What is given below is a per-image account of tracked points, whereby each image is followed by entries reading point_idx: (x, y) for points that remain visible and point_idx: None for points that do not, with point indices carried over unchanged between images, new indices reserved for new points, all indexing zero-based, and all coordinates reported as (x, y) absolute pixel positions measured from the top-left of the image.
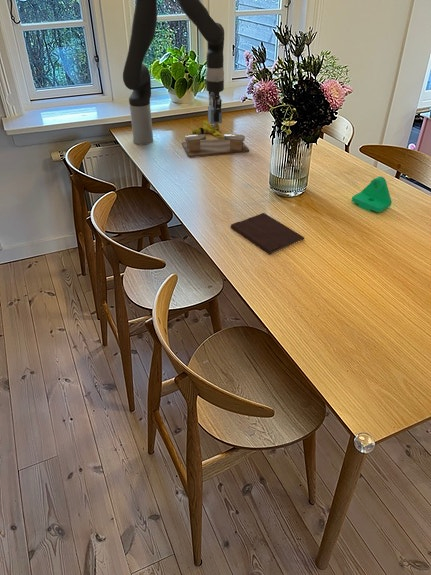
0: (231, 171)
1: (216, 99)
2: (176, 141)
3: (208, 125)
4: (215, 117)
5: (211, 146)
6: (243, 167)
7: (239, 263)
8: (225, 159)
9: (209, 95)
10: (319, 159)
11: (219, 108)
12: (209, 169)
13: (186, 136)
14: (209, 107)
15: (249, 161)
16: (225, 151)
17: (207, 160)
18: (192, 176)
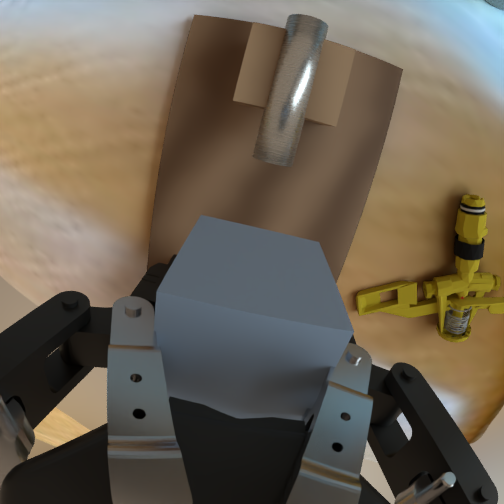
0: (5, 163)
1: (6, 458)
2: (444, 73)
3: (478, 301)
4: (141, 281)
5: (257, 188)
6: (21, 222)
7: None
8: (99, 188)
9: (448, 478)
10: (63, 417)
11: (58, 376)
12: (40, 81)
13: (301, 19)
14: (296, 331)
15: (60, 271)
16: (157, 225)
17: (119, 98)
18: (25, 8)
